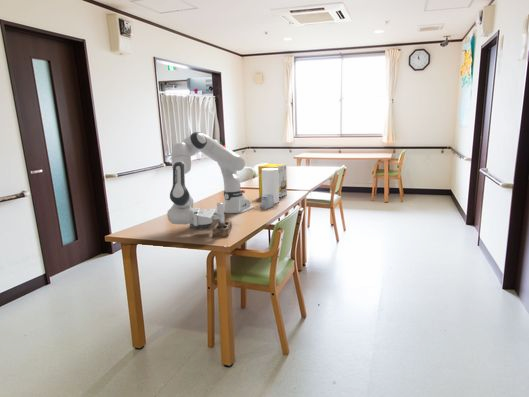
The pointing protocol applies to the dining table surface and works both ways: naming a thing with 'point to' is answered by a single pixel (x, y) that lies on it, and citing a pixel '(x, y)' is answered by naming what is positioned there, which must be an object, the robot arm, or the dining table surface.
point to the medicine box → (267, 201)
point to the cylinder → (270, 183)
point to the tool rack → (222, 229)
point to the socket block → (200, 226)
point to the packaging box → (281, 178)
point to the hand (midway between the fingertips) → (222, 215)
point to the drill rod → (221, 212)
